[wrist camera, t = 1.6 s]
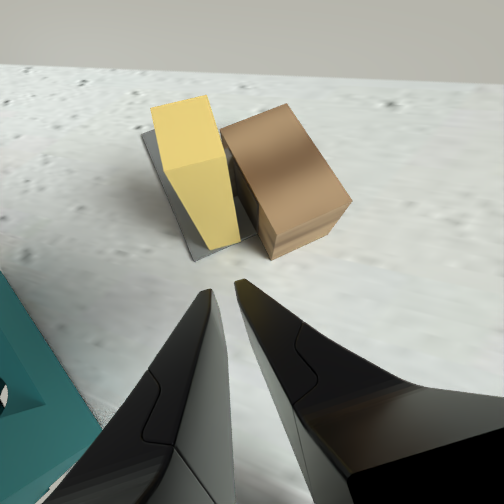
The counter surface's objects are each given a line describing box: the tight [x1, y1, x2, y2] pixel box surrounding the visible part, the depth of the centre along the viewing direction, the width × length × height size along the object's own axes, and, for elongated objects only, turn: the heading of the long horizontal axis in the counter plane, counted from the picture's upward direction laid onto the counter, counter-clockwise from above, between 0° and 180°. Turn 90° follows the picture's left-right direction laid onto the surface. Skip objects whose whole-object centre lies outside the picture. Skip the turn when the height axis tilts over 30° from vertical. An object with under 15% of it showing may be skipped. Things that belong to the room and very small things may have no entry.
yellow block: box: [150, 95, 241, 250], centre depth 18 cm, size 4×3×12 cm
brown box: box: [220, 103, 352, 261], centre depth 22 cm, size 10×7×6 cm, turn 25°
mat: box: [141, 129, 257, 261], centre depth 26 cm, size 16×6×1 cm, turn 25°
